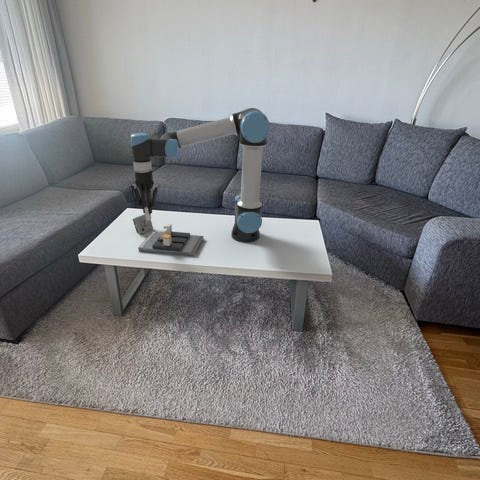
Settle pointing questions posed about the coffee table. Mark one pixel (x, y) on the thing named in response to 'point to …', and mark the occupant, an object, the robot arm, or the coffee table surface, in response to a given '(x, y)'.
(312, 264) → the coffee table surface
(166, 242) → the block
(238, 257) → the coffee table surface
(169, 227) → the block
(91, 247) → the coffee table surface
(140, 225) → the electrical switch
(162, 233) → the block
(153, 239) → the panel
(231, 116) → the robot arm
